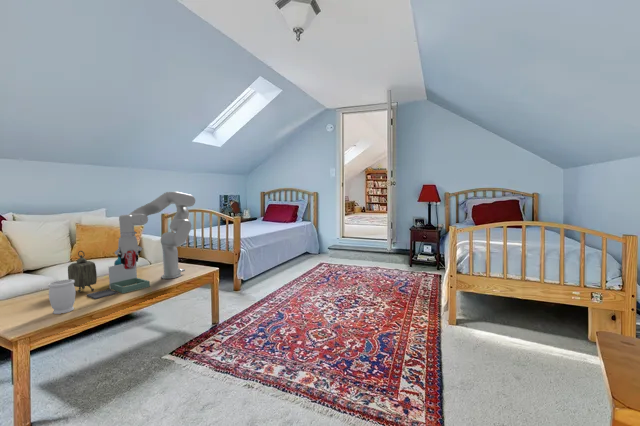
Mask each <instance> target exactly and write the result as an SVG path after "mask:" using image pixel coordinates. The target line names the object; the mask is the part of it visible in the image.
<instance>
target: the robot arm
mask: <svg viewBox="0 0 640 426" xmlns="http://www.w3.org/2000/svg"><path fill="white" fill-rule="evenodd" d="M195 204H196V198H195V196H193V195H192V194H188V193H184V192H179V191H165V192H164V193H162V194H161V195H159V196H158V197H156V198H155V199H153V200H152V201H151V202H149V203H145V204H144V205H141V206H140V207H138V208H136V209H134V210H133V211H131V212H130V213H128V214H121V215H120V216H119V217H118V222H119V235H120V237H119V238H118V243H117V244H118V245H117V247H118V248H117V249H116V250H115V251H114V254H115V256H117V258H118V257H120V259H121V263H122V264H125V258H124V255H125V253H127V251H129V250H134V251H135V253H136V263H137V262H139V255H140V253H141V251H142V250H143V247H142V246H140V245H139V243H138V239H137V236H136V234H137V231H135V226H144V225H145V224H147V223H148V221H149V217H148V216H151V215H155V214H159V213H161V212H162V211H163V210H165V209H166V208H167V207H169V206H170V205H175V207H176V213H175V215H174V216H173V218H172V220H171V222H170V224H169V230H171V231H169V232H168V231H167V232H164V233H162V234H161V237H160V243H161V248H162V262H163V263H162V264H163V266H162V267H163V274H162V275H161V279H165V280H169V279H175V278H180V277H181V276H182V272H183V273H184V272H186V269H185V268H179V252H178V248H177V247H181V246H183V244H184V243H185V242H186V241H187V238H188V237H189V234H190V232H191V230H192V223H191V221H190V220H189V219H188V217H189V213H190V211H189V207H190V208H191V207H193V206H194V205H195ZM119 253H121V254H119Z"/></svg>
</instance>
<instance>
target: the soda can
mask: <svg viewBox="0 0 640 426" xmlns="http://www.w3.org/2000/svg"><path fill="white" fill-rule="evenodd" d="M124 258H125V264H123V266H124V269H126V270H130V269H134V268H135V267H136V268H137V262H136V253H135V251H134V250H129V251H127V253H125V255H124Z"/></svg>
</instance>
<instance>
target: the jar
mask: <svg viewBox="0 0 640 426" xmlns="http://www.w3.org/2000/svg"><path fill="white" fill-rule="evenodd" d="M74 282H75V280H69V279H61V280H55V281H52V282H50V283H48V285H47V287H48V288H49V290H48V298H49V299H48V300H49V303H50V306H51V309H52V310H53V311H52V314H53V315H61V313H63V314H67V313H69V312H72V311H74V309H75V307H74V304H75V301H76V294H77V293H76V287H75V286H74V284H73V283H74Z"/></svg>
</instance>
